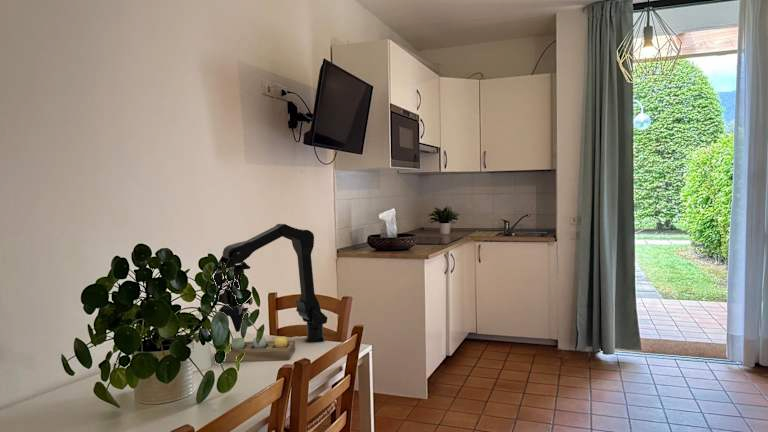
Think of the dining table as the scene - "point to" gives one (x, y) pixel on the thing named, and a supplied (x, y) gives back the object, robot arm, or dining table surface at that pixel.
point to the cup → (202, 353)
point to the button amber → (281, 342)
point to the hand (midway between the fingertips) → (237, 331)
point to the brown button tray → (262, 352)
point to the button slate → (261, 345)
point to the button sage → (238, 343)
